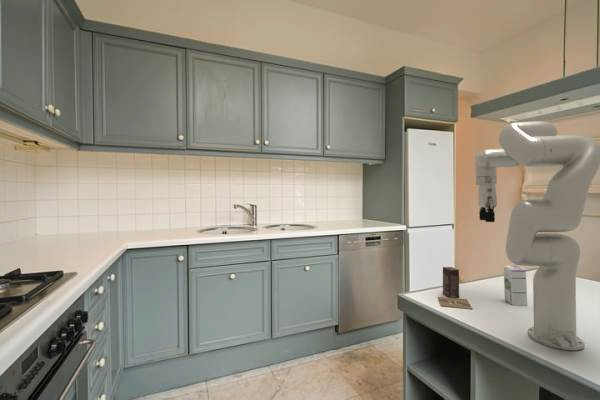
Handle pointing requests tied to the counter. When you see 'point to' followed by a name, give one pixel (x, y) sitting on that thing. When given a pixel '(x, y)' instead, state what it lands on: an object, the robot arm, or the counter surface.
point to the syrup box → (515, 285)
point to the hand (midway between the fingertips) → (486, 221)
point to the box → (451, 282)
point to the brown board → (454, 303)
